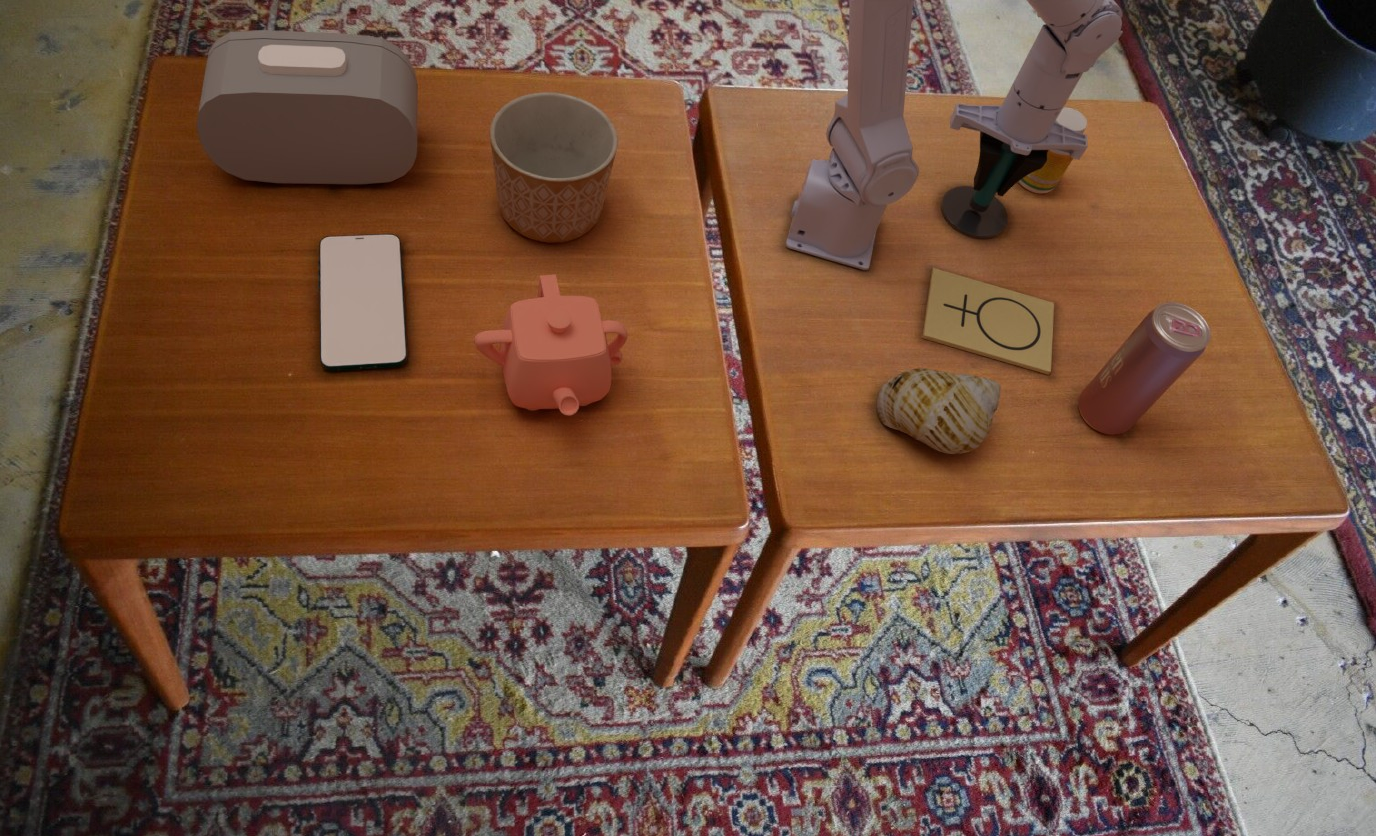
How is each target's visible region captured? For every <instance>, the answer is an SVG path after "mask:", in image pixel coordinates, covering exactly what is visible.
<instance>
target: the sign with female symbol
mask: <svg viewBox="0 0 1376 836" xmlns="http://www.w3.org/2000/svg"><path fill="white" fill-rule="evenodd" d="M928 286H929V287H928V294H927V299H926V300H927V301H926V308H925V313H924V314H925V315H924V322H923V327H922V328H923V329H922V334H921V335H922V336H921V338H922V339H924V340H926V341H927V340H928V341H931V342H933V343H937V344H941V345H944V346H948V347H951V348H954V349H958V350H961V351H965V352H968V353H972V354H975V355H978V356H983V357H986V358H989V359H993V360H997V361H999V362H1003V363H1006V364H1010V365H1013V366H1017V367H1020V368H1024V369H1027V370H1031V371H1034V372H1038V373H1041V374H1043V375H1044V374H1045V375H1048V376H1049V375H1050V374H1051V372H1052V359H1053V356H1052V355H1053V335H1054V317H1055V316H1054V315H1055V302H1053V301H1050V300H1046V299H1042V298H1039V297H1036V296H1032V295H1028V294H1025V293H1022V292H1018V291H1015V290H1011V289H1008V288H1004V287H1001V286H998V285H994V284H991V283H987V282H984V281H981V280H977V279H974V278H970V277H966V276H963V275H960V274H956V273H953V272H949V271H946V270H942V269H939V268H936V267H933V268H932V269H931V271H930V278H929V285H928Z"/></svg>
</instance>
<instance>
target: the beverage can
mask: <svg viewBox="0 0 1376 836" xmlns="http://www.w3.org/2000/svg"><path fill="white" fill-rule="evenodd" d="M1211 338H1212V332H1211V328H1210V326H1209V324H1208V322H1207V320H1206V319H1205V318H1204V317H1203V316H1202V315H1201V314H1200V313H1199V312H1198V311H1197V310H1195V309H1193V308H1192V307H1190V306H1189V305H1186V304H1184V303H1182V302H1181V303H1180V302H1175V301H1168V302H1163V303H1160V304H1159V305H1157V306H1156V307H1155V308H1154V309H1152V310H1151V311H1150V312H1148V313H1147V315H1145V317H1144V318H1143V319H1142V321H1141V322H1140V323H1139V324H1138V325H1137V326H1136V327H1135V329H1134V330H1133V331H1132V332H1131V334H1129V336H1128V337H1127V338H1126V340H1124V342H1123V343H1122V344H1121V346H1119V348H1118V349H1117V350H1116V351H1115V352H1114V354H1113V355H1112V356H1111V357H1110V358H1109V359H1108V361H1107V362H1106V363H1105V364H1104V365H1103V366H1102V368H1101V369H1100V370H1099V371H1098V372H1097V374H1096V375H1095V376H1094V377H1093V379H1092V380H1091V381H1090V382H1089V383H1088V385H1086V387H1085V388H1084V389H1083V390H1082V391H1081V393H1080V394H1079V397H1078V410H1079V414H1080V416H1081V417H1082V419H1083V421H1084V422H1085V423H1086V424H1087V425H1088V426H1089V427H1090V428H1092V429H1093V430H1094V431H1097V432H1099V433H1101V434H1104V435H1121V434H1124V433H1126V432H1128V431H1130V429H1131V428H1133V426H1134V425H1135V424H1136V423H1137V422H1138V421H1139V420H1140V419H1141V418H1142V417H1143V415H1145V414H1146V413H1147V411H1149V409H1150V408H1152V407H1153V405H1155V403H1156V402H1158V400H1159V399H1160V398H1161V397H1162V396H1163V395H1164V394H1165V393H1166V392H1167V391H1168V390H1169V389H1170V388H1171V387H1172V386H1173V384H1175V382H1176V381H1178V379H1179V378H1181V377H1182V375H1183V374H1184V373H1185V372H1186V371H1187V370H1188V369H1189V368H1190V367H1191V366H1192V365H1193V364H1194V363H1195V362H1196V361H1197V360H1198V359H1199V358H1200V357H1201V356H1202V355H1203V353H1204V352H1205V350H1206V347H1207V346H1208V345H1209V344H1210V342H1211Z"/></svg>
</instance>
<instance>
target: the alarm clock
mask: <svg viewBox="0 0 1376 836" xmlns="http://www.w3.org/2000/svg"><path fill="white" fill-rule="evenodd" d="M418 84H419V83H418V79H417V75H416V70H415V68H414V66H413V64H412V62H411V60H410V58H409V57H408V55H407V54H406V53H404V51H403V50H402V49H401V48H400V47H399V46H397V45H395V44H393V42H392V43H391V42H390V41H388V40H386V39H384V38H383V37H377V36H368V35H361V34H355V33H354V34H353V33H340V32H338V33H337V32H317V31H293V30H288V31H287V30H271V29H259V30H257V29H256V30H255V29H254V30H238V31H229V32H227V33H226V34H224V35H222V36H221V37H219V38H217V39H216V40H215V41H214V43H213V44H212V45H211V47H210V48H209V50H208V53H207V59H206V65H205V72H204V77H203V82H202V89H201V93H200V94H201V95H200V101H199V106H198V113H197V120H196V131H197V136H198V140H199V142H200V144H201V147H202V149H203V151H204V152H205V155H207V156H208V157H209V159H210V160H211V162H212V163H213V164H214V165H216V166H217V167H219V168H220V169H221V170H222V171H224V172H225V173H226V174H229V175H232V176H234V177H237V178H239V179H242V180H244V181H255V182H263V183H271V184H273V183H274V184H310V185H311V184H315V185H317V184H319V185H320V184H321V185H368V184H369V185H370V184H382V183H383V184H384V183H390V182H393V181H396V180H397V179H400V178H402V177H404V176H405V175H406V174H407V173H408V172H409V171H410V170H411V169H412V168H413V166H414V164H415V162H416V158H417V156H418V155H417V154H418V103H419V102H418V100H419V99H418V97H419V95H418V94H419V92H418V89H419V88H418V87H419V86H418Z"/></svg>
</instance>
